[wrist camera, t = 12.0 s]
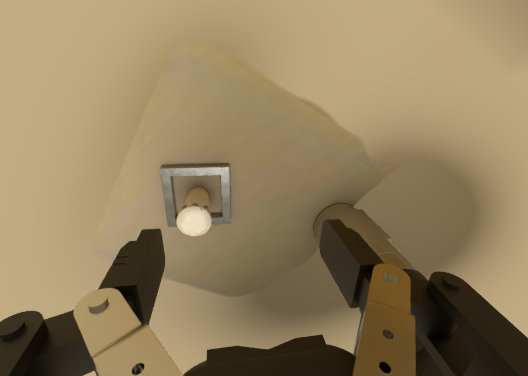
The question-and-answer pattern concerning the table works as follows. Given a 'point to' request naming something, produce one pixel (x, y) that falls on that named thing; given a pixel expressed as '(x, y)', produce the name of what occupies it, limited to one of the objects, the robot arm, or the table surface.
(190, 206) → the milkshake
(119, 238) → the table surface
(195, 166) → the grey square frame
